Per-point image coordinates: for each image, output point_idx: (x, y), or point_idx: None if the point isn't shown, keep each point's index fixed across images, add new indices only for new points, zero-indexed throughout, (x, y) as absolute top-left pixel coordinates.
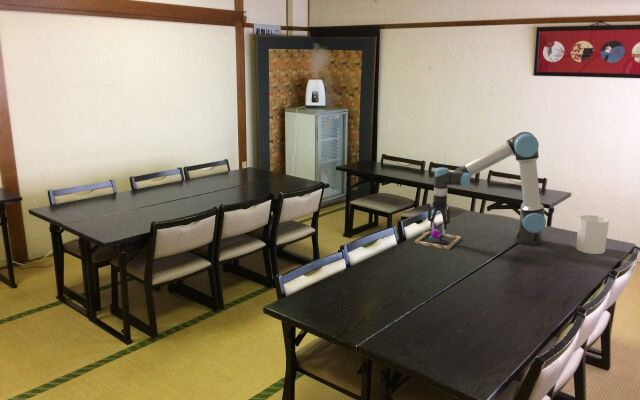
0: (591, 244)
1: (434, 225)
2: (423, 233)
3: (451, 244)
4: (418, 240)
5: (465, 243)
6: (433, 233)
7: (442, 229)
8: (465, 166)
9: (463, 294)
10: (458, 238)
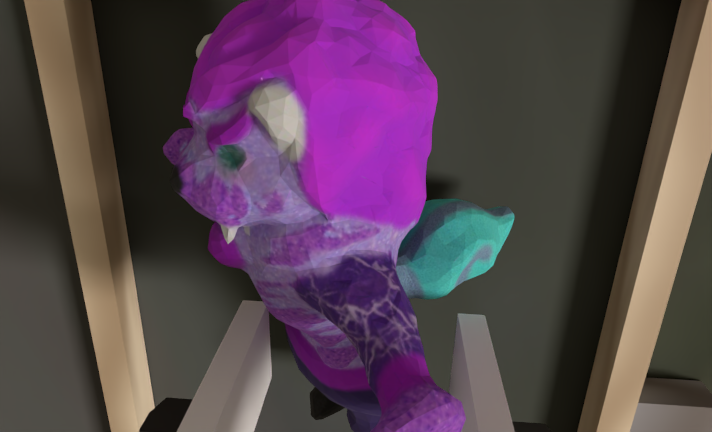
0: None
1: (413, 376)
2: (652, 429)
3: (47, 103)
4: (680, 75)
5: (9, 342)
6: (335, 4)
7: (228, 378)
8: None
9: None
10: (114, 420)
